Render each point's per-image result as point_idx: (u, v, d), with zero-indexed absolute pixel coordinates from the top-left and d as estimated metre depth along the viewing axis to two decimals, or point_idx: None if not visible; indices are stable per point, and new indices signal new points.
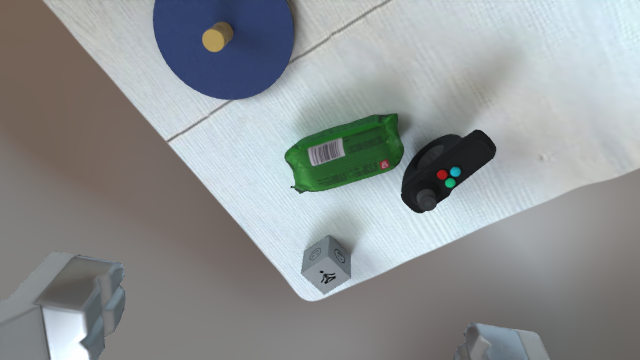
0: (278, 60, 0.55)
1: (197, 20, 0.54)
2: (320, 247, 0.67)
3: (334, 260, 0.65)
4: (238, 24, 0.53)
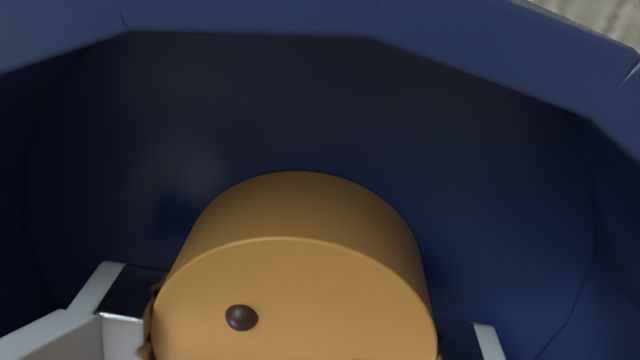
0: None
1: None
2: None
3: None
4: None
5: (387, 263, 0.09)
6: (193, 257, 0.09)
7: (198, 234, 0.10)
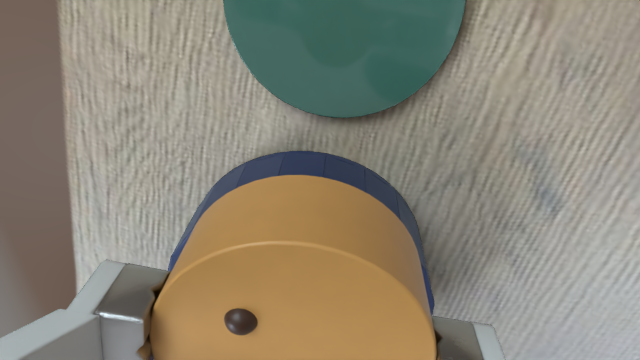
0: None
1: None
2: None
3: None
4: None
5: (385, 268, 0.09)
6: (192, 261, 0.09)
7: (198, 238, 0.10)
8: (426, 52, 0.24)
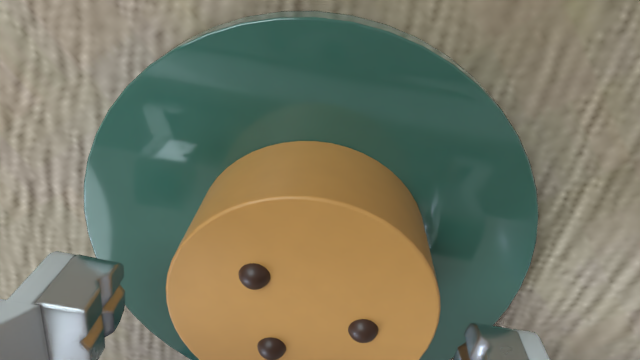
0: None
1: None
2: None
3: None
4: None
5: (395, 224, 0.09)
6: (210, 216, 0.09)
7: (213, 198, 0.10)
8: (458, 319, 0.13)
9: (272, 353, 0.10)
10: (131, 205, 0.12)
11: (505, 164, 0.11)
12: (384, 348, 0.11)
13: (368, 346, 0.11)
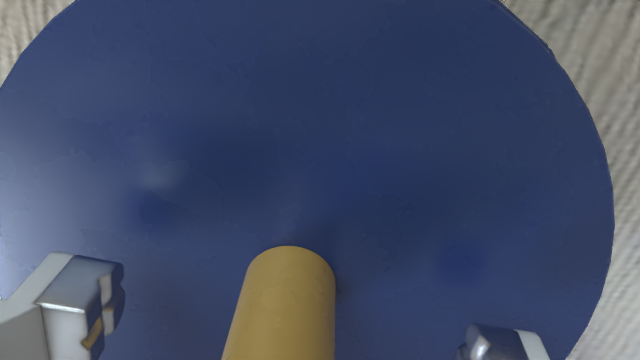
0: None
1: (238, 183, 0.11)
2: None
3: None
4: (361, 303, 0.13)
5: None
6: None
7: None
8: None
9: None
10: None
11: None
12: None
13: None
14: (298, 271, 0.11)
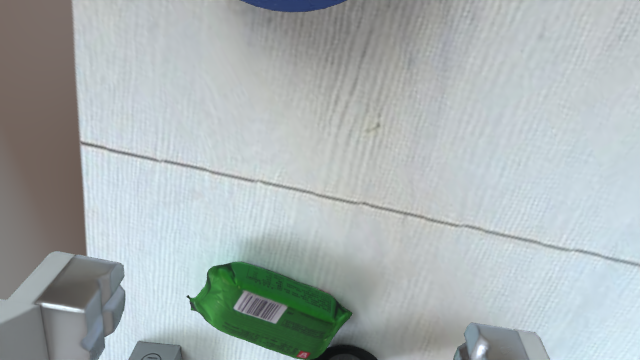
0: None
1: None
2: (161, 356, 0.53)
3: None
4: None
5: None
6: None
7: None
8: None
9: None
10: None
11: None
12: None
13: None
14: None
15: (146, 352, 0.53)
